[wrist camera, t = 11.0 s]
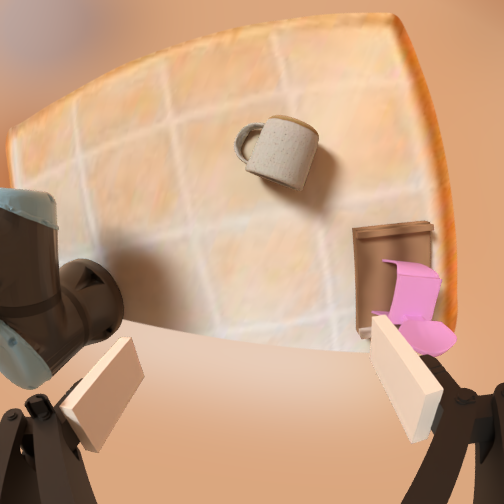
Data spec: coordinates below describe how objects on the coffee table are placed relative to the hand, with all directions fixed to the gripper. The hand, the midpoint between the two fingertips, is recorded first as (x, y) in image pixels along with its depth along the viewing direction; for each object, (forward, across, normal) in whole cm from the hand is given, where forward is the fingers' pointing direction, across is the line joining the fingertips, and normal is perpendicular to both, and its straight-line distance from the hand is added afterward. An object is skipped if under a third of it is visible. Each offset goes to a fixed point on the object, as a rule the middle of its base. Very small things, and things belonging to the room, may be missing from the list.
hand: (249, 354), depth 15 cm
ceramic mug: (+29, +3, +12) cm, 31 cm away
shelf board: (+28, +19, -7) cm, 34 cm away
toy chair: (+26, +19, -8) cm, 33 cm away
